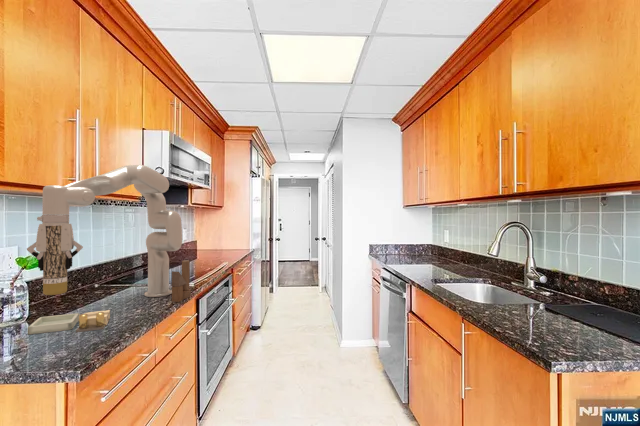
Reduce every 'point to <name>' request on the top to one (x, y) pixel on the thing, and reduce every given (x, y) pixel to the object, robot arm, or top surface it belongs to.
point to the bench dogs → (98, 326)
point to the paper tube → (54, 262)
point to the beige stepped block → (92, 317)
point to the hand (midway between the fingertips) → (55, 269)
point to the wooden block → (181, 283)
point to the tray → (53, 323)
